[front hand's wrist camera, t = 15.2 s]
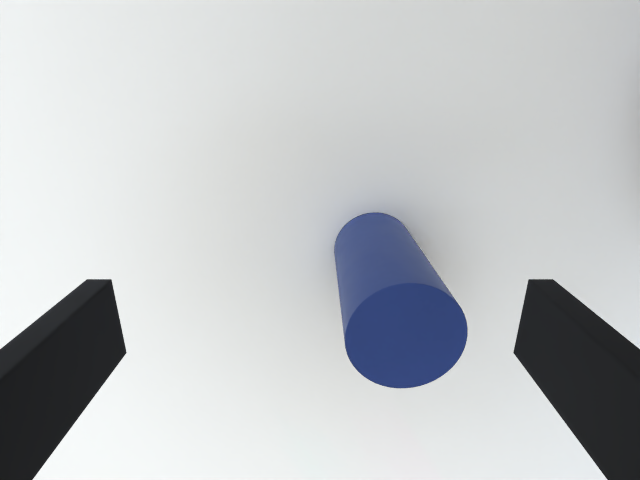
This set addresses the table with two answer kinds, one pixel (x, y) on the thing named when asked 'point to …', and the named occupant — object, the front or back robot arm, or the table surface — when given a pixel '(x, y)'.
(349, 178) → the table surface
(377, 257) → the can
